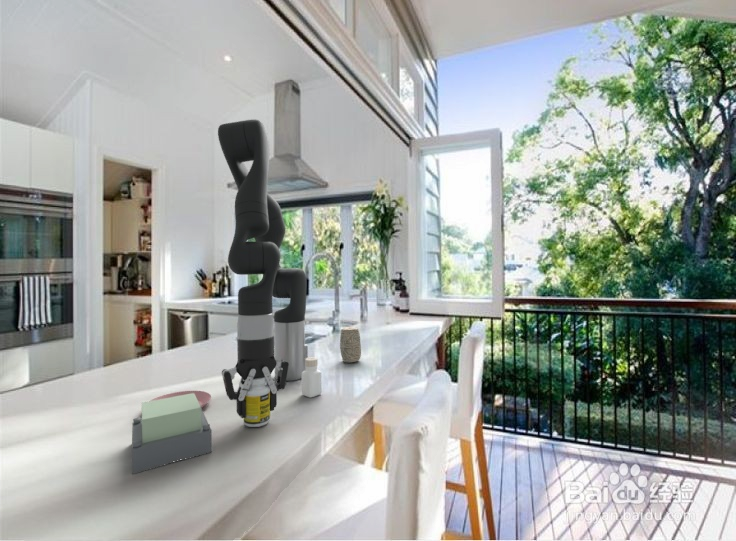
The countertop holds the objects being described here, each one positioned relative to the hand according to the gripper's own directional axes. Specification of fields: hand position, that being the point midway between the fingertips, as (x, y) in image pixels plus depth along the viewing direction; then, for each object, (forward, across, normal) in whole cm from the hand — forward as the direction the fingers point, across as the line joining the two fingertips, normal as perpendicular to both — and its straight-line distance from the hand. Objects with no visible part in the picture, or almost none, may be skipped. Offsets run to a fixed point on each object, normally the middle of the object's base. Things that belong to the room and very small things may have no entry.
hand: (257, 412), depth 75 cm
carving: (+3, -42, -31) cm, 52 cm away
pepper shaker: (+3, -17, -9) cm, 19 cm away
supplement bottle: (+2, 0, 0) cm, 2 cm away
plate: (+3, +13, -19) cm, 23 cm away
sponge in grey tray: (+2, +16, +1) cm, 16 cm away
